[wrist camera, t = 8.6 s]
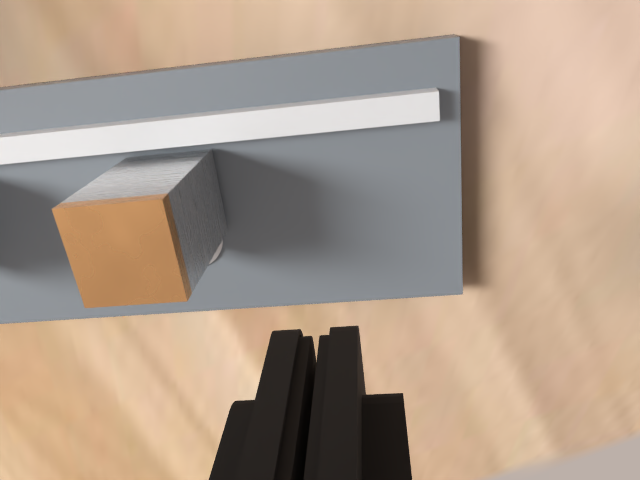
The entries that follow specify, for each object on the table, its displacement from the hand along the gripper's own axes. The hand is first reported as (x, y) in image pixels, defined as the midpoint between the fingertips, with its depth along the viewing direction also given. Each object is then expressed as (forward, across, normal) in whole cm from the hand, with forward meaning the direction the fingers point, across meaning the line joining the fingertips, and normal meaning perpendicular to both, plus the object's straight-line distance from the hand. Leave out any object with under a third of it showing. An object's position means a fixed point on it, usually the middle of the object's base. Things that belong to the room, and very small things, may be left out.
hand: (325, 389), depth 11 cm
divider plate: (+17, +10, +1) cm, 20 cm away
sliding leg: (+15, +8, +1) cm, 17 cm away
